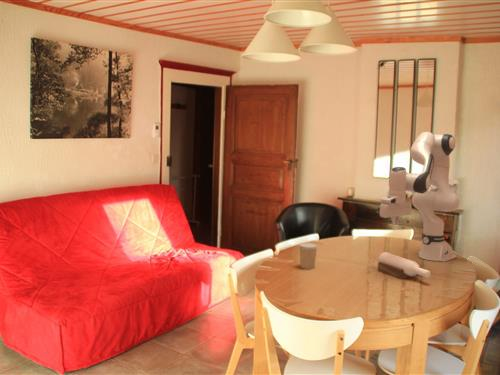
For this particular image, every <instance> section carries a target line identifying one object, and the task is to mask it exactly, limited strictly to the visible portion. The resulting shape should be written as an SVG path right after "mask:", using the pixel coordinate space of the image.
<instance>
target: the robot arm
mask: <svg viewBox="0 0 500 375" xmlns="http://www.w3.org/2000/svg"><path fill="white" fill-rule="evenodd" d="M412 143H413V144H412V146H411V147H410V150H409V156H410V157H411V159H412V161H414V162H415V163H416V164H419V165H422V166H423V167H422V172H420V173H412V172H407V169H406V168H405V167H403V166H395V167H393V168H391V169H390V172H389V178H388V179H389V180H388V188H389V189H388V192H387V194H386V195H385V196H383V197H381V198H380V202H381V203H380V205H379V216H380V218H384V219H386V218H390V220H391V224H392V225H393V226H397V225H399V224H400V219H402V218H401V217H404V216H411V214H412V210H413V207H414V208H415V209H417V210H418V211H419V213H420V214H421V217H422V223H423V224H422V225H423V228H422V230H423V231H422V233H421V242H420V247H419V251H418V252H417V255H418V257H419V258H421V259H423V260H426V261H431V262H432V261H435V262H445V263H446V262H447V261H450V260H453V259H456V258H457V255H456V254H454V253H453V248H452V246H451V245H450V243H448V242H447V241H446V239H448V238H449V235H448V234H444V230H445V222H444V220H443V218H441V217H440V216H438V215H436V214H435V211H436V212H446V213H448V212H449V213H450V212H455V211H456V210H458V208H459V207H460V199H459V197H458V195H457V194H456V193H454V191H453V190H452V189H451V186H450V182H449V181H450V180H449V178H450V177H449V176H450V173H449V172H450V163H451V162H450V155H451V153H452V152H453V151H454V149H455V147H456V140H455V138H454V136H453V135H452V134H448V133H444V134H433V133H432V132H430V131H422V132H421V133H420V134H419V135H418V136H417V137H416V139H415V140H414V142H412ZM430 186H433V187H435V188H437V191H431V190H430V191H429V189H430ZM407 192H411V193H412V192H413V195H412V198H410V197H406V196H407V194H406V193H407ZM412 206H413V207H412Z"/></svg>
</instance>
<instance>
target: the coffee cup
mask: <svg viewBox="0 0 500 375" xmlns="http://www.w3.org/2000/svg"><path fill="white" fill-rule="evenodd" d="M317 248H318V246H317V245H316V244H315V243H310V242H309V243H300V244H299V264H300V268H301V269H306V270H313V269H315V267H316V260H317V259H316V258H317V257H316V256H317Z"/></svg>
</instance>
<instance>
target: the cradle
mask: <svg viewBox="0 0 500 375" xmlns="http://www.w3.org/2000/svg"><path fill="white" fill-rule="evenodd" d="M377 264H378V265H377V271H379V272H381V273H384V274H386V275H389V276H390V277H391V276H392V277H394V278H397V279H400V280H402V279H406V278H407V279H408V278H413V277H414V276H408V275H405V274H403V272H404V270H402V269H399V268H396V267H393V266H391V265H388V264H385V263H382V262H379V261H378V262H377ZM419 268H421V266H419ZM416 276H417V277H418V276H419V275H418V274H417V275H416ZM416 276H415V277H416Z"/></svg>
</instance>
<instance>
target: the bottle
mask: <svg viewBox="0 0 500 375" xmlns="http://www.w3.org/2000/svg"><path fill="white" fill-rule="evenodd" d="M378 262H382V263H385V264H388V265H391V266H393V267H396V268H399V269H402V270H404V272H403V274H405V275H408V276H413V277H416V275H417V274H418V276H420V277H423V278H427V279H428V278H430V277H431V274H432V273H431V271H430V270H429V269H425V268H422V267H420V265H419V264H418V263H417V262H416V261H415V260H412V259H408V258H405V257H402V256H399V255H396V254H392V253H391V252H387V251H384V252H382V253H381V254H380V255H379V257H378ZM419 267H420V268H419Z"/></svg>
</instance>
